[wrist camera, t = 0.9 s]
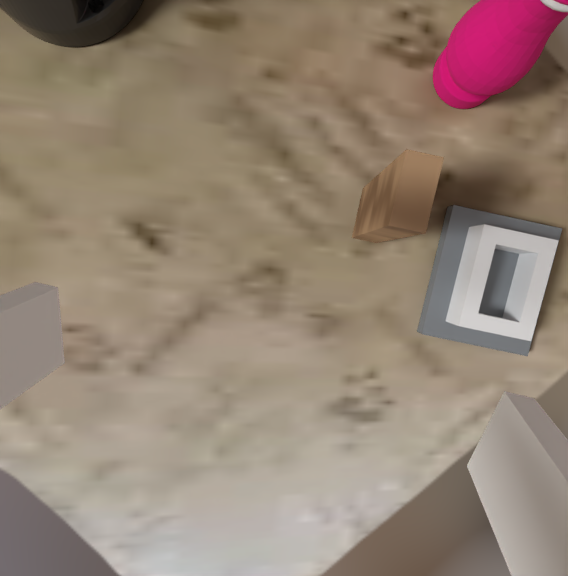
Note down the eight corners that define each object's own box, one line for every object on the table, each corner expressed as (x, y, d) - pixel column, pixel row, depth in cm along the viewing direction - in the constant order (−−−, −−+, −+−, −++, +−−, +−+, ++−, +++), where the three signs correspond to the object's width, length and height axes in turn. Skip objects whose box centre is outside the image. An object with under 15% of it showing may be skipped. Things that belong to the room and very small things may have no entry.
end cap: (447, 206, 34) (467, 200, 31) (552, 229, 35) (584, 226, 31) (416, 331, 35) (432, 339, 32) (519, 353, 36) (546, 363, 32)
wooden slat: (363, 188, 34) (406, 149, 22) (387, 193, 34) (444, 157, 22) (351, 237, 34) (389, 225, 23) (375, 242, 35) (425, 233, 23)
